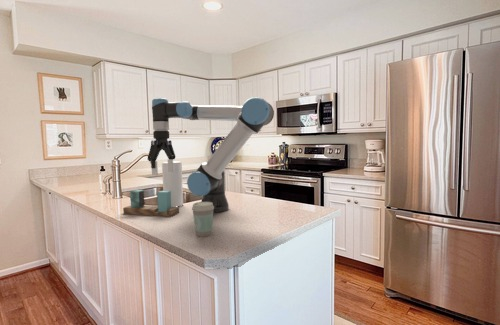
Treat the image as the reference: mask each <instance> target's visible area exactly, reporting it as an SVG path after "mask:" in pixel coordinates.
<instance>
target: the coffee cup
mask: <svg viewBox="0 0 500 325" xmlns="http://www.w3.org/2000/svg"><path fill="white" fill-rule="evenodd" d="M213 209H214V206H213V203H212V202H201V201H199V202H193V204H192V206H191V211H192V216H193V222H194V228H195V234H196V236H197V237H202V238H203V237H210V236H211V235H212V232H213V219H214V213H213Z"/></svg>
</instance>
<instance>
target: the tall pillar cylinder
mask: <svg viewBox="0 0 500 325" xmlns="http://www.w3.org/2000/svg"><path fill="white" fill-rule="evenodd" d="M182 163H183V162H182V161H174V160H173V172H168V161H162V162H161V169H162V170H161V171H162V187H163V188H162V191H171V207H176V206H180V207H182V206H181V205H183V206H184V191H183V188H184V186H183V164H182Z"/></svg>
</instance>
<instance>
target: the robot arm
mask: <svg viewBox="0 0 500 325" xmlns="http://www.w3.org/2000/svg"><path fill="white" fill-rule="evenodd" d="M151 113H152V129H153V132H152V133H153V139H155V140H151V141H150V147H149V151H148V156H147V161H148V162H150V168H151V175H152V176H158V175H159V173H158V172H159V170H158V161H157V160H158V157H159V155H160V152H161V151H164V153H165V155H166V157H167V162H168V172H173V161H174V160H175V159H176V154H175V151H174V148H173V145H172V140H168V139H170V131H169V130H170V120H169V119H185V120H189V121H219V122H220V121H222V122H223V121H225V122H237V123H236V124H235V125H234V126H233V127H232V129H231V130H230V131H229V133H228V134H227V135H226V137H225V138H224V139H223V141H222V142H221V144H219V146H218V147H217V149H215V151H214V152H213V154H212V155H211V157H210V158H209V159H208V161H206V162H202V163H201V164H200V165H199V167H198V168H197V169H196V170H195V171H193V172H191V173H190V174H189V176H188V177H187V181H186V185H187V188H188V190H189V192H190V193H191V195H194V196H197V197H202V198H201V201H200V202H212V203H213V206H214V209H213V214H214V213H215V214H216V213H221V212H227V211H228V210H229V208H230V206H229V202H228V199H227V197H226V196H227V195H226V187H225V186H226V182H225V181H226V179H225V174H226V172H225V170H226V168H228V165H229V164H230V163H231V161H232V160H233V159H234V158H235V157H236V155H238V153H239V152H240V150H241V149H242V148H243V146H245V144H246V143H247V141H248V140H249V139H250V138H251V136H253V135H255V134H258V133H259V132H260V131H261V129H262V128H263V127H265V126H267V125H269V124H270V123H271V122H272V121H273V119H274V118H275V116H274V115H275V111H274V108H273V106H272V104H270V102H268V101H266V100H265V99H264V98H261V97H258V96H256V97H255V96H254V97H251V98H248V99H247V100H246V101H244V103H243V105H199V104H197V105H196V104H194V105H193V104H191V103H190V102H189V101H182V100H181V101H174V102H172V101H170V102H169V100H168V99H167V98H163V97H161V98H159V97H156V98H153V99H152V100H151Z"/></svg>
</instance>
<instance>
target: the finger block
mask: <svg viewBox="0 0 500 325" xmlns="http://www.w3.org/2000/svg"><path fill="white" fill-rule="evenodd" d="M156 195H157V196H156V198H157V201H156V203H157V206H158V212H167V210H168V209H171V191H163V190H159V191H157V193H156Z"/></svg>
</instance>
